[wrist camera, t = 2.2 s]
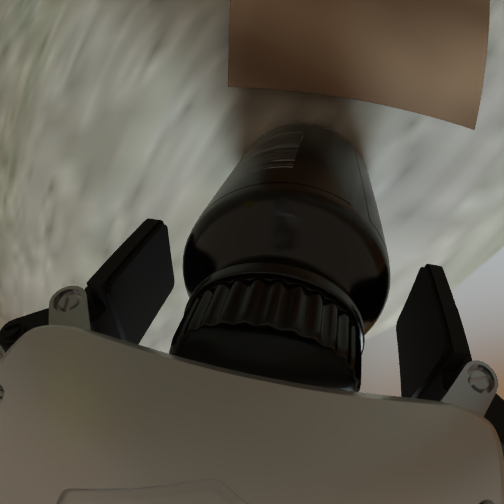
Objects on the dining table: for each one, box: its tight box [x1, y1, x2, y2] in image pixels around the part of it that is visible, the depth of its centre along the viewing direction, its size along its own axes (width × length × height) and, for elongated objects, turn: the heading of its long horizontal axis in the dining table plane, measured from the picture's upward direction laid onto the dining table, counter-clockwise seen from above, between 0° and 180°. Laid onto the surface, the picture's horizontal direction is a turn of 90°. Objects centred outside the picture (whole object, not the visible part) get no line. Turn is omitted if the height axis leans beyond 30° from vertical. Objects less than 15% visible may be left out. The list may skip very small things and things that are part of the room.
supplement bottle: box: [169, 124, 390, 392], centre depth 12 cm, size 7×7×12 cm
